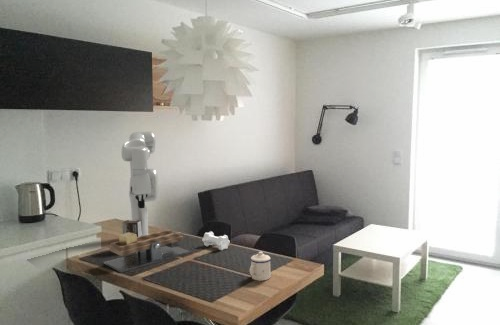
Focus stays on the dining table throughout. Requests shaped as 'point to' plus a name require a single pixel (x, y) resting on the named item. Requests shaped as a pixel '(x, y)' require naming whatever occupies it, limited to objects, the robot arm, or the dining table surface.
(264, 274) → the teacup with lid
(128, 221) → the coffee box
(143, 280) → the dining table surface
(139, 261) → the stand
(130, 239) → the yellow wooden cube
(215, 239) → the dog bone
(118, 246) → the long wooden tray
